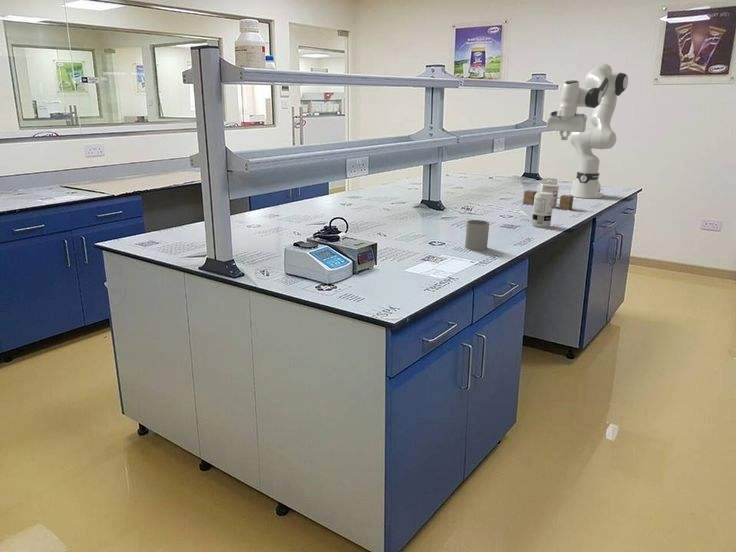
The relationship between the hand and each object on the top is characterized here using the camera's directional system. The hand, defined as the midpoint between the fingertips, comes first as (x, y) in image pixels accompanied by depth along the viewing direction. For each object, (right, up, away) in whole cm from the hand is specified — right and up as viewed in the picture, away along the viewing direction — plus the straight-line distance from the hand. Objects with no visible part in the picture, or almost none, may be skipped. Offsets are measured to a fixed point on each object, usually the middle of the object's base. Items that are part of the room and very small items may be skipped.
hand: (564, 140), depth 303 cm
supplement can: (-26, -50, -44) cm, 71 cm away
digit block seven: (-16, -33, +8) cm, 38 cm away
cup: (-63, -62, -84) cm, 122 cm away
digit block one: (-1, -37, -4) cm, 38 cm away
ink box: (-8, -35, +2) cm, 36 cm away
